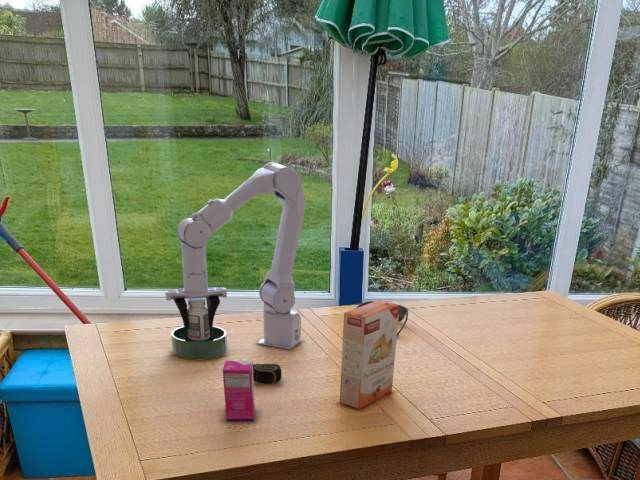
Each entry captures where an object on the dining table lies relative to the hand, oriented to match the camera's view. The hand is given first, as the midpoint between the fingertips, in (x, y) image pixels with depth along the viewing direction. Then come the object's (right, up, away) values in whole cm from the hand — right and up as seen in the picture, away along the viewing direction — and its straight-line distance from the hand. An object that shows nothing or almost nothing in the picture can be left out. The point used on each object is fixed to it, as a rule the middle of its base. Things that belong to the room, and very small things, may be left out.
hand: (198, 326), depth 181 cm
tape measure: (+18, -15, -10) cm, 26 cm away
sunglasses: (+45, +6, +31) cm, 54 cm away
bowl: (0, -6, +3) cm, 7 cm away
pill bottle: (0, -3, +2) cm, 3 cm away
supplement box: (+16, -25, -28) cm, 41 cm away
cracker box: (+43, -20, -16) cm, 49 cm away
